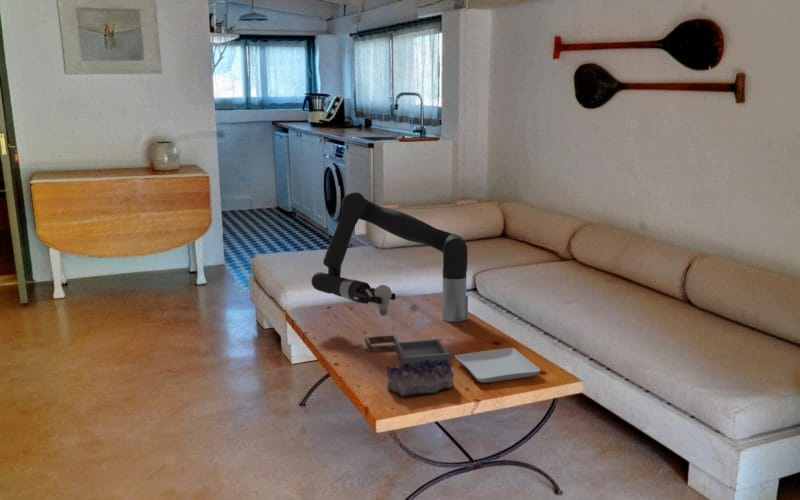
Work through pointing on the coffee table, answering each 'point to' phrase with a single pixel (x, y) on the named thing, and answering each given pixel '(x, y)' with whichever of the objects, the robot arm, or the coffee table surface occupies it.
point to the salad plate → (498, 365)
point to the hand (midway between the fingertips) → (388, 299)
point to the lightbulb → (383, 297)
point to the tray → (422, 351)
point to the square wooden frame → (381, 347)
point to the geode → (420, 378)
